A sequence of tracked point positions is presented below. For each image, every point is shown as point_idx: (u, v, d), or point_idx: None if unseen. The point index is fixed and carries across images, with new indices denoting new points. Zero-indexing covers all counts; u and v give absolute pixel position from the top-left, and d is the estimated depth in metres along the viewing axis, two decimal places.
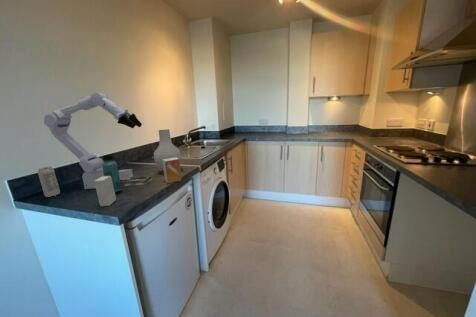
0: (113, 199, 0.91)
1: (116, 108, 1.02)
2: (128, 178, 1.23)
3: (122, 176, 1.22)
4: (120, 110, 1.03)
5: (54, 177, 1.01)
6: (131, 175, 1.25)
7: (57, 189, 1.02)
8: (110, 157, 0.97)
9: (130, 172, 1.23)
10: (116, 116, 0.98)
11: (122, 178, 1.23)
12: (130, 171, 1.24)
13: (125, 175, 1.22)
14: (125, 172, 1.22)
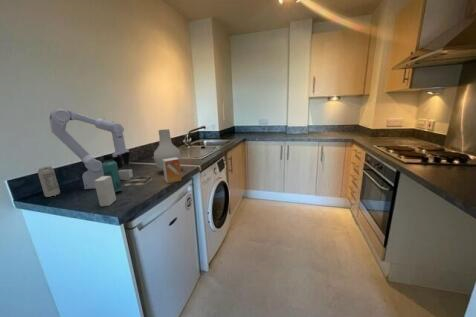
0: (113, 199, 0.91)
1: (120, 146, 1.18)
2: (128, 178, 1.23)
3: (122, 176, 1.22)
4: (122, 149, 1.19)
5: (54, 177, 1.01)
6: (131, 175, 1.25)
7: (57, 189, 1.02)
8: (110, 157, 0.97)
9: (130, 172, 1.23)
10: (114, 155, 1.14)
11: (122, 178, 1.23)
12: (130, 171, 1.24)
13: (125, 175, 1.22)
14: (125, 172, 1.22)
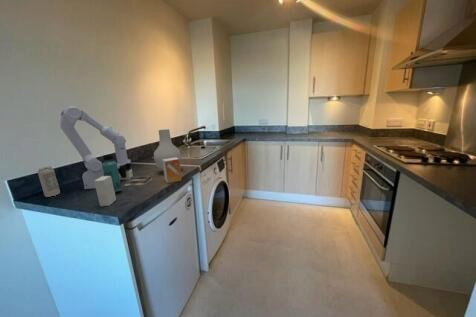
0: (113, 199, 0.91)
1: (122, 157, 1.19)
2: (128, 178, 1.23)
3: None
4: (124, 160, 1.20)
5: (54, 177, 1.01)
6: (131, 175, 1.25)
7: (57, 189, 1.02)
8: (110, 157, 0.97)
9: (130, 172, 1.23)
10: None
11: (122, 178, 1.23)
12: (130, 171, 1.24)
13: None
14: None
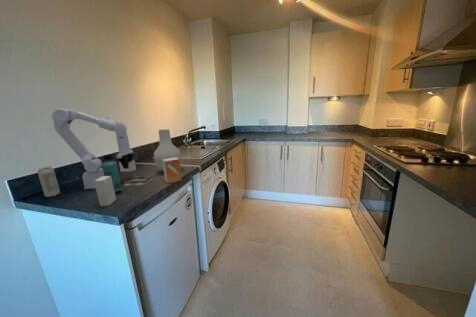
0: (113, 199, 0.91)
1: (125, 146, 1.13)
2: (131, 169, 1.16)
3: None
4: (126, 150, 1.14)
5: (54, 177, 1.01)
6: (134, 166, 1.18)
7: (57, 189, 1.02)
8: (110, 157, 0.97)
9: (132, 163, 1.17)
10: (119, 156, 1.09)
11: (124, 169, 1.16)
12: (133, 162, 1.17)
13: (128, 166, 1.16)
14: None
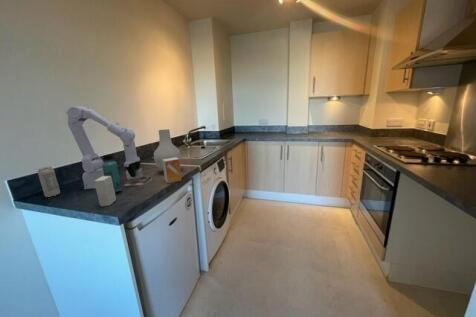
0: (113, 199, 0.91)
1: (132, 154, 1.10)
2: (138, 178, 1.13)
3: None
4: (133, 158, 1.11)
5: (54, 177, 1.01)
6: (141, 175, 1.15)
7: (57, 189, 1.02)
8: (110, 157, 0.97)
9: (139, 172, 1.14)
10: (126, 164, 1.06)
11: (131, 178, 1.13)
12: (140, 170, 1.14)
13: (135, 174, 1.13)
14: None
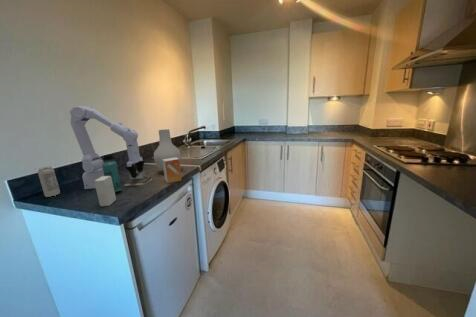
0: (113, 199, 0.91)
1: (135, 154, 1.10)
2: None
3: (135, 178, 1.13)
4: (136, 158, 1.11)
5: (54, 177, 1.01)
6: (144, 177, 1.16)
7: (57, 189, 1.02)
8: (110, 157, 0.97)
9: (143, 174, 1.14)
10: (129, 164, 1.06)
11: None
12: (143, 173, 1.15)
13: (138, 177, 1.13)
14: (138, 174, 1.13)
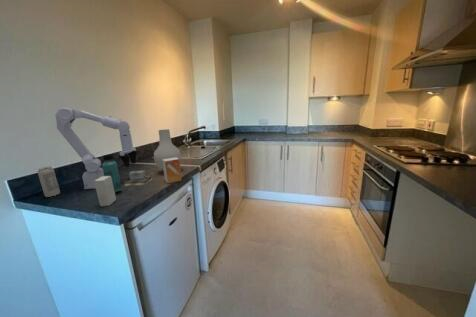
0: (113, 199, 0.91)
1: (128, 144, 1.15)
2: None
3: (135, 178, 1.13)
4: (129, 147, 1.15)
5: (54, 177, 1.01)
6: (144, 177, 1.16)
7: (57, 189, 1.02)
8: (110, 157, 0.97)
9: (143, 174, 1.14)
10: (122, 153, 1.11)
11: None
12: (143, 173, 1.15)
13: (138, 177, 1.13)
14: (138, 174, 1.13)
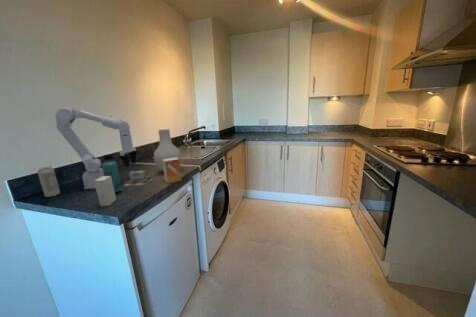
0: (113, 199, 0.91)
1: (128, 144, 1.15)
2: None
3: (135, 178, 1.13)
4: (129, 147, 1.15)
5: (54, 177, 1.01)
6: (144, 177, 1.16)
7: (57, 189, 1.02)
8: (110, 157, 0.97)
9: (143, 174, 1.14)
10: (122, 153, 1.11)
11: None
12: (143, 173, 1.15)
13: (138, 177, 1.13)
14: (138, 174, 1.13)
